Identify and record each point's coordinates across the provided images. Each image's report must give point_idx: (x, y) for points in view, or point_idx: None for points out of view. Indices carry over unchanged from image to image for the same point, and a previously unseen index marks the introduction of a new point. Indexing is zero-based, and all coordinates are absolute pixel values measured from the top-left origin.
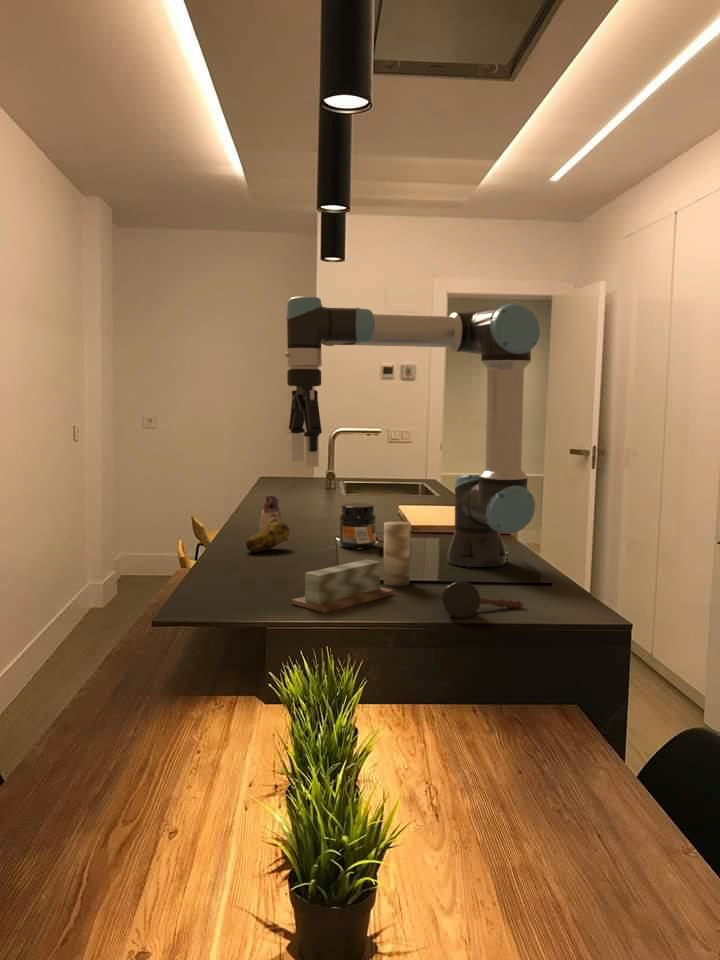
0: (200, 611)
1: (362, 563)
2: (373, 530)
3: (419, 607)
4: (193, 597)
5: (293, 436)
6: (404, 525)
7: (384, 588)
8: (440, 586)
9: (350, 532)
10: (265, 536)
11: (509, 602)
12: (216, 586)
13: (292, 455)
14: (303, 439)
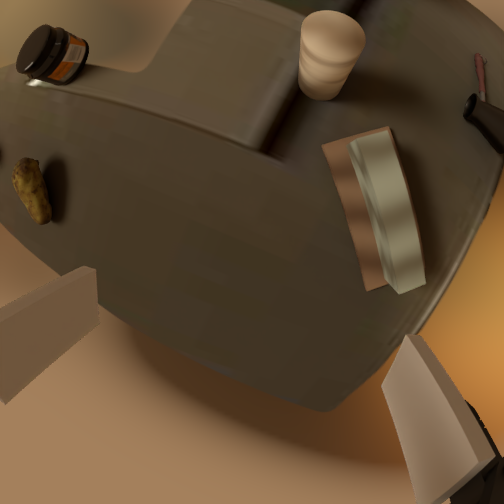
0: (329, 386)
1: (386, 166)
2: (74, 36)
3: (452, 143)
4: (262, 376)
5: (13, 388)
6: (364, 34)
7: (373, 131)
8: None
9: (63, 68)
10: (39, 200)
11: (483, 67)
12: (216, 336)
13: (81, 337)
14: (6, 319)
